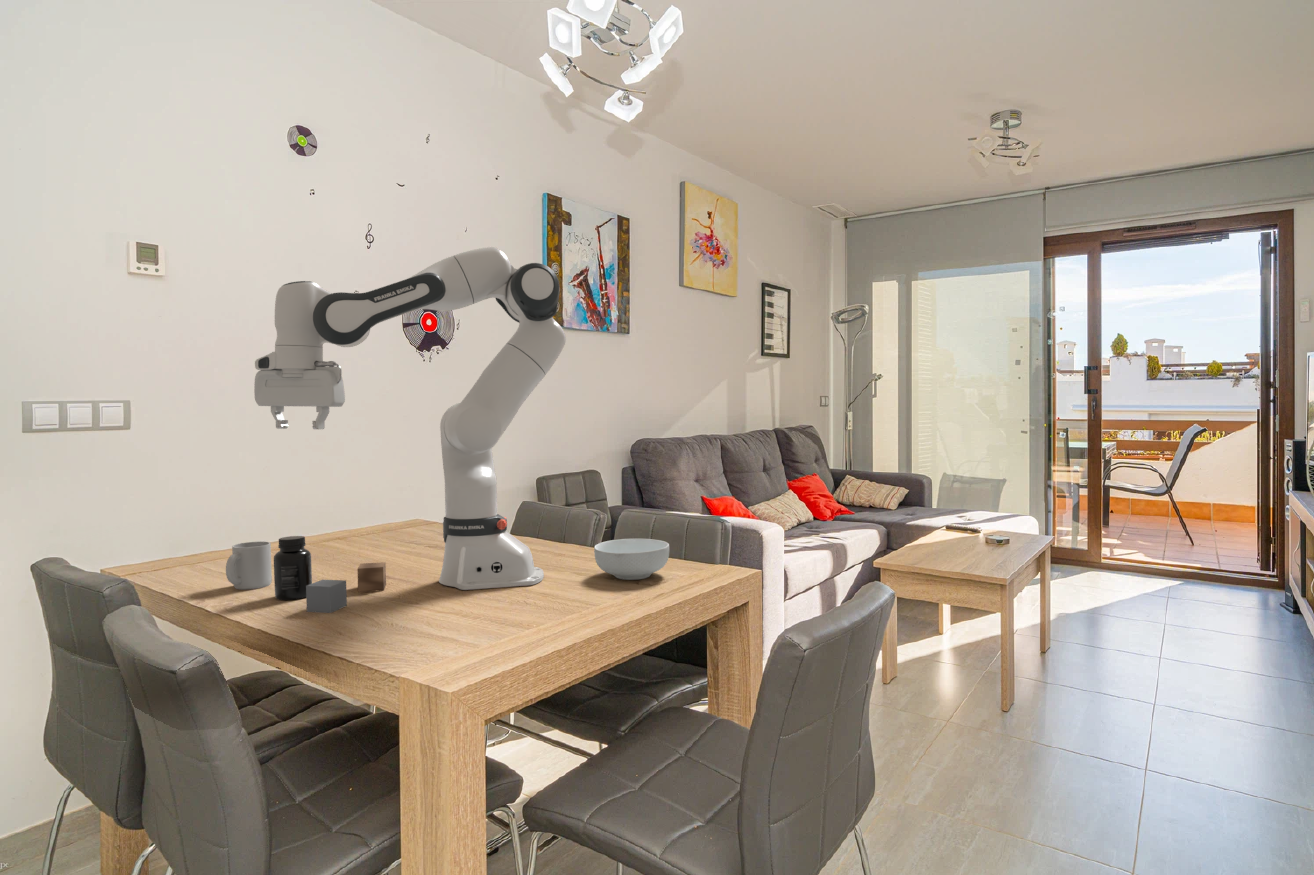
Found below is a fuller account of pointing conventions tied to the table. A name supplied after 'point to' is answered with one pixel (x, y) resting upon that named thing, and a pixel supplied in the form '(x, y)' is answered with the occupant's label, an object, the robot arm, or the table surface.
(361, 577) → the walnut block
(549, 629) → the table surface
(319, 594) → the charcoal block
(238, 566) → the cup
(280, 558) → the supplement bottle
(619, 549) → the cereal bowl
